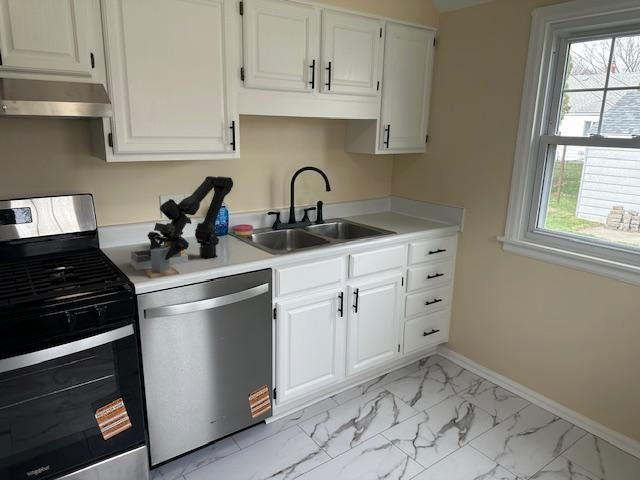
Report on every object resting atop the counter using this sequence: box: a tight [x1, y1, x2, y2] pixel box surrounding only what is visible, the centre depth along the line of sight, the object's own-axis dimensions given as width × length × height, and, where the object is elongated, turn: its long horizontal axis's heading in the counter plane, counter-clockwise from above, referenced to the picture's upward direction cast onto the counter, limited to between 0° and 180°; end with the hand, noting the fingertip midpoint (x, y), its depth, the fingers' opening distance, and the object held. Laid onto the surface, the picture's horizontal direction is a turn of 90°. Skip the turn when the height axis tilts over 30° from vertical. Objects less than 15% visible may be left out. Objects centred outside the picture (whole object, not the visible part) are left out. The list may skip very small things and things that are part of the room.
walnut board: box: [142, 265, 180, 279], centre depth 190 cm, size 11×11×1 cm
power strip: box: [130, 247, 189, 271], centre depth 202 cm, size 22×9×6 cm, turn 126°
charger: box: [151, 246, 170, 273], centre depth 189 cm, size 5×5×9 cm
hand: (157, 257), depth 187 cm, fingers open, 9 cm apart
